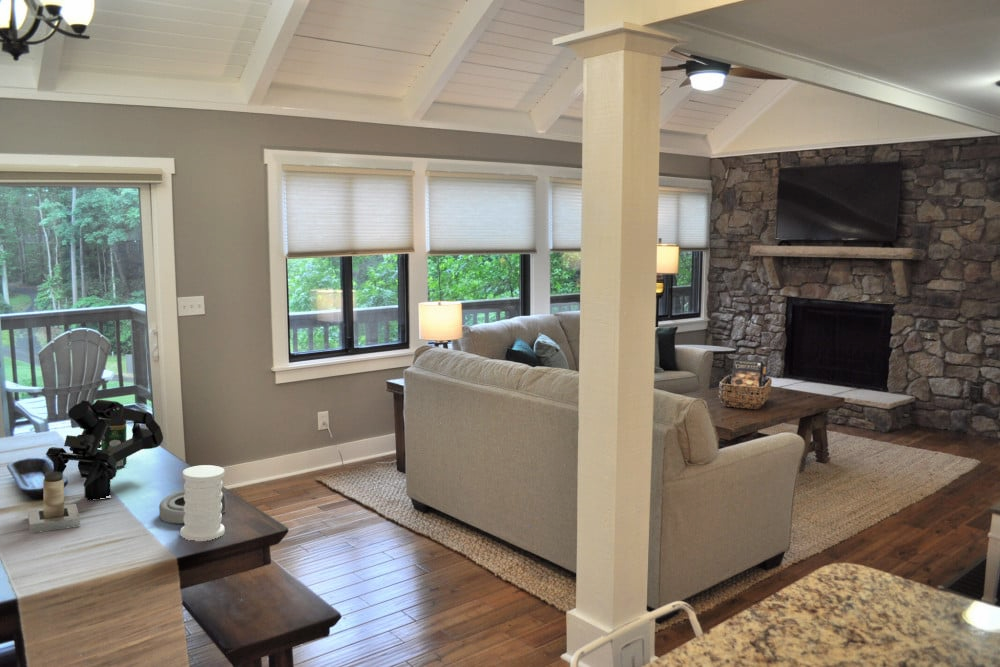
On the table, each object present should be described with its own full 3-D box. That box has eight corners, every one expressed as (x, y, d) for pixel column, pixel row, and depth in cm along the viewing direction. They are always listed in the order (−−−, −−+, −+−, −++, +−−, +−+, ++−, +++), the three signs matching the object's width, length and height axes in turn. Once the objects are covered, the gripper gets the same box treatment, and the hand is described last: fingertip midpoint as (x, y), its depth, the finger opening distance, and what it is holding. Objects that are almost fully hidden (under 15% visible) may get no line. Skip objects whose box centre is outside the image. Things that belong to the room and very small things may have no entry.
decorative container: (193, 544, 215) (194, 480, 212) (172, 531, 222) (173, 469, 220) (232, 534, 223) (233, 472, 221) (211, 522, 231) (212, 462, 228)
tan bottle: (66, 518, 226) (66, 471, 224) (60, 525, 221) (60, 477, 219) (47, 518, 225) (47, 471, 223) (40, 525, 220) (40, 476, 218)
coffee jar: (100, 461, 277) (100, 409, 274) (126, 459, 280) (126, 408, 278) (101, 470, 268) (101, 416, 265) (126, 468, 272) (127, 415, 269)
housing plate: (76, 512, 231) (76, 503, 231) (80, 526, 221) (80, 518, 221) (28, 517, 225) (27, 509, 224) (29, 533, 215) (29, 524, 214)
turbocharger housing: (148, 520, 232) (182, 533, 225) (147, 499, 231) (181, 511, 223) (196, 501, 247) (230, 512, 239) (195, 481, 245) (229, 492, 238)
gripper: (49, 420, 232) (24, 468, 223) (111, 426, 231) (89, 474, 222) (65, 439, 241) (42, 486, 232) (125, 445, 240) (104, 492, 231)
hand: (69, 484), depth 229 cm, fingers open, 9 cm apart
